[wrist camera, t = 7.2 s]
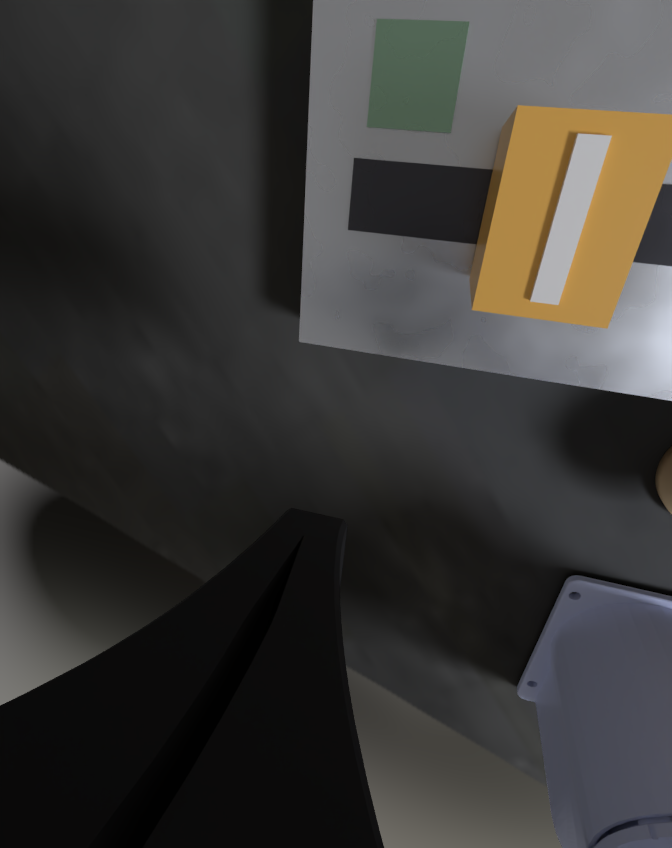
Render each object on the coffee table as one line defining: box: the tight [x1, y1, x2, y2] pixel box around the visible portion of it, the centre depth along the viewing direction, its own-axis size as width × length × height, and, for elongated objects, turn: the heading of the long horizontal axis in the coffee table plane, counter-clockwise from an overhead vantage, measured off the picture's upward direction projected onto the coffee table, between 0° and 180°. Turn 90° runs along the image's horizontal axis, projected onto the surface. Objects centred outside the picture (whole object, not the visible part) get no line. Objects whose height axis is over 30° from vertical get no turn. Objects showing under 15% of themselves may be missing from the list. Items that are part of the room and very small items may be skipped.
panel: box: [299, 0, 672, 401], centre depth 14 cm, size 10×16×3 cm, turn 86°
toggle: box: [469, 105, 672, 329], centre depth 11 cm, size 4×3×4 cm
